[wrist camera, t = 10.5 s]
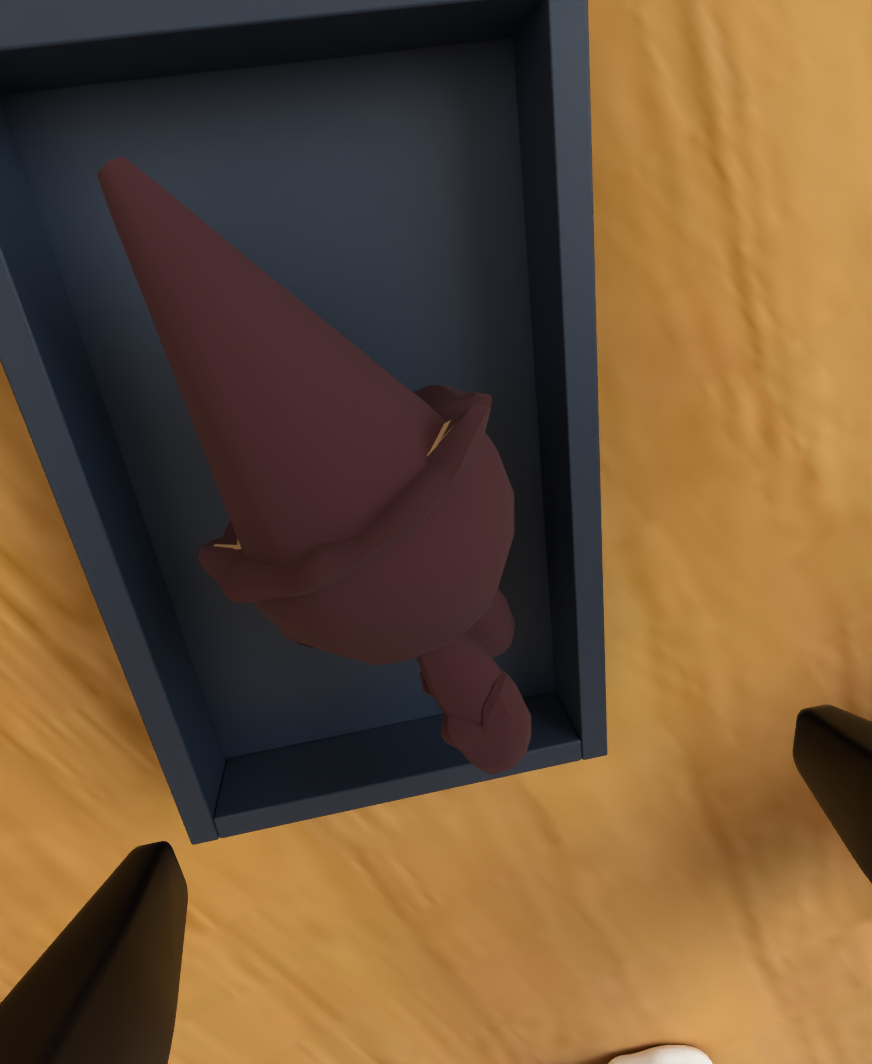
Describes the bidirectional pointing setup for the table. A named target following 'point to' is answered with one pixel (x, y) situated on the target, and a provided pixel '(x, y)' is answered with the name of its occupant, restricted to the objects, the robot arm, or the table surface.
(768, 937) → the table surface
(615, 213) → the table surface
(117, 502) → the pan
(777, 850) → the table surface
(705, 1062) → the skull bowl
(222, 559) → the icecream
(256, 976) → the table surface
